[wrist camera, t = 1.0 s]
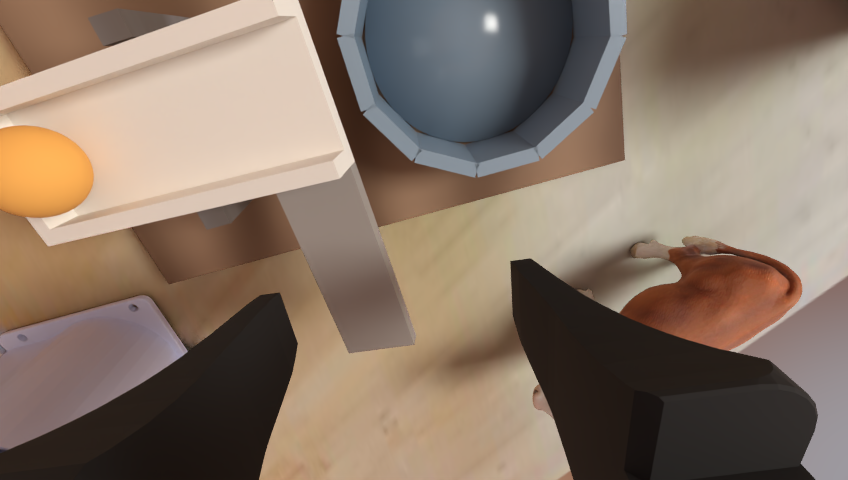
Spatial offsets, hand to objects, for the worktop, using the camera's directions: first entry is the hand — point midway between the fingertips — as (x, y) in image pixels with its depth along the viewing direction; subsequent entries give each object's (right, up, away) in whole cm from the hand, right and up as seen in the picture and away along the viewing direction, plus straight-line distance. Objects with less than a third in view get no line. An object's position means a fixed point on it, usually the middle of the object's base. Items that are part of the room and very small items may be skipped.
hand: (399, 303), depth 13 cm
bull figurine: (+12, -1, +13) cm, 18 cm away
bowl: (+3, +11, +6) cm, 13 cm away
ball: (-12, +4, +1) cm, 13 cm away
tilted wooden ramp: (-7, +3, +5) cm, 9 cm away
